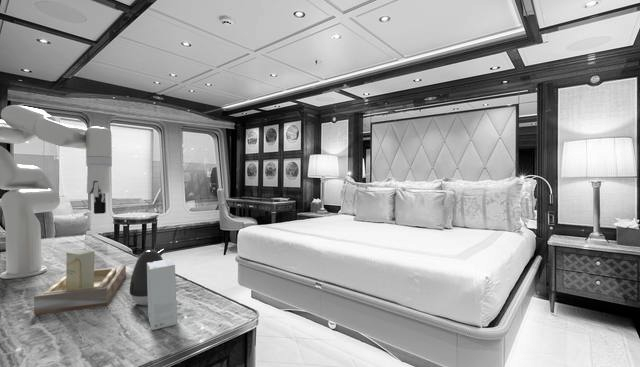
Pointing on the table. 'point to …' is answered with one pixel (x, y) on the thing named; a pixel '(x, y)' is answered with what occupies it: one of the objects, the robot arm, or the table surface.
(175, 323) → the skincare box
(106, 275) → the birch crate
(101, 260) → the table surface
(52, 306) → the wooden serving tray
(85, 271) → the skincare box
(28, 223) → the robot arm
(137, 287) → the black penguin figurine
